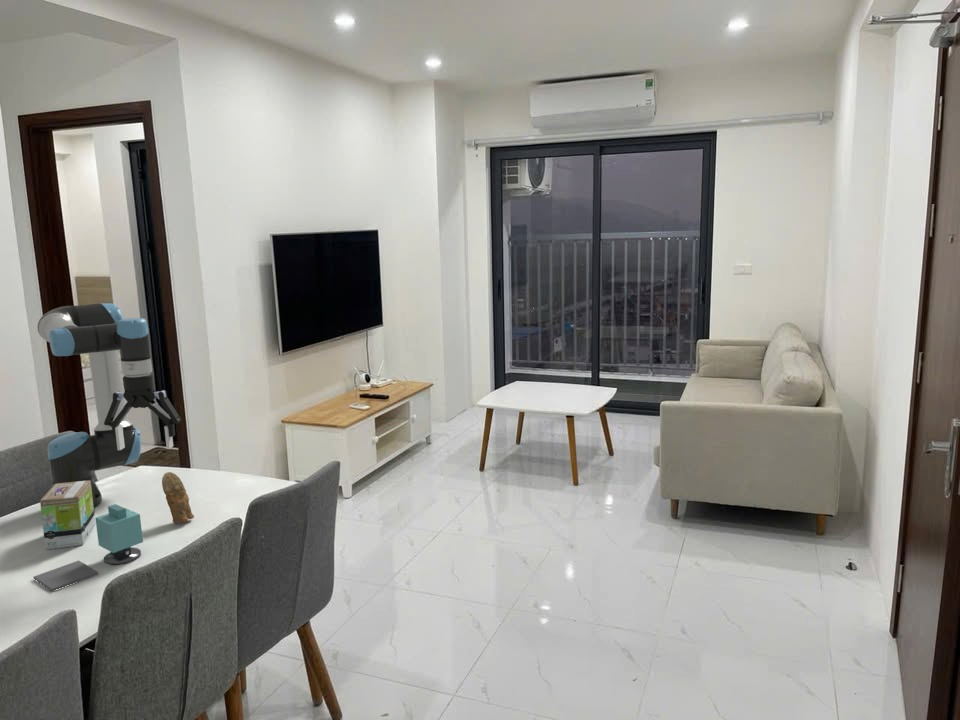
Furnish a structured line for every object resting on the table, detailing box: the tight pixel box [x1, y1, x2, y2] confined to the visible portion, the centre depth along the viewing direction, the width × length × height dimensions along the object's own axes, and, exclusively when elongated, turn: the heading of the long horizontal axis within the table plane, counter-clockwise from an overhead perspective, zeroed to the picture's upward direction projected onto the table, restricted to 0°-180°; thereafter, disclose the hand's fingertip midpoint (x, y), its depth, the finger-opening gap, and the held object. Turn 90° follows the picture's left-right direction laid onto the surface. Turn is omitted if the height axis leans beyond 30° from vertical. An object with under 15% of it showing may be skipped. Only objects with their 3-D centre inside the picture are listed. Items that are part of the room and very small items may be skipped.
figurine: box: [161, 471, 195, 524], centre depth 215 cm, size 8×8×15 cm
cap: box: [95, 503, 144, 553], centre depth 190 cm, size 8×8×10 cm
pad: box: [33, 559, 99, 592], centre depth 181 cm, size 11×11×1 cm
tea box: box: [39, 480, 96, 550], centre depth 204 cm, size 15×10×15 cm, turn 17°
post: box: [103, 546, 142, 566], centre depth 191 cm, size 9×9×9 cm
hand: (145, 448), depth 199 cm, fingers open, 13 cm apart
